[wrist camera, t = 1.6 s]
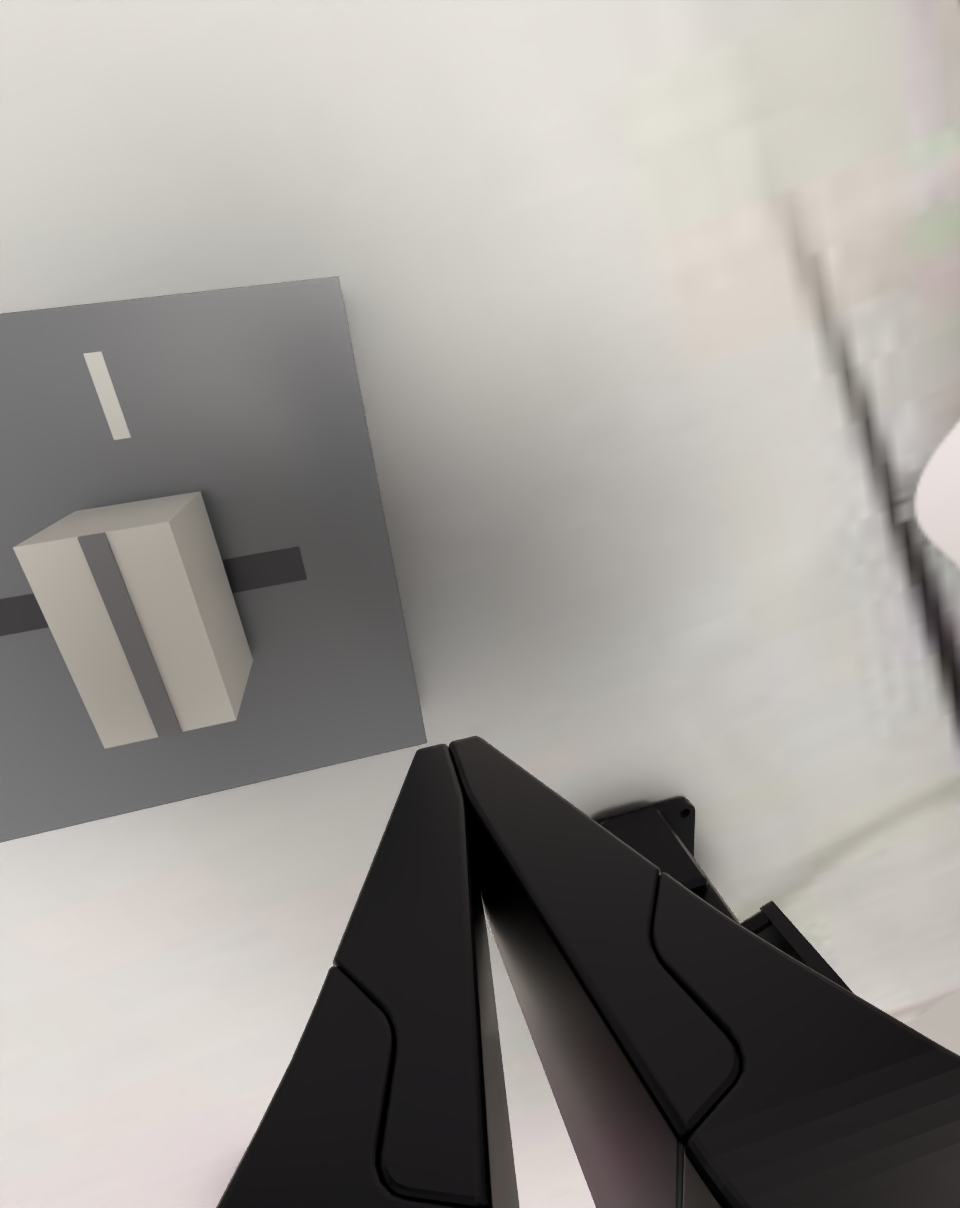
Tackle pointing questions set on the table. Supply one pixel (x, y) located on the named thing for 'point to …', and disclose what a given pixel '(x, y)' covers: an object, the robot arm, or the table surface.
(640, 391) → the table surface
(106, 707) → the fader knob
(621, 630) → the table surface
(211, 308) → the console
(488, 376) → the table surface
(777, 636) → the table surface
